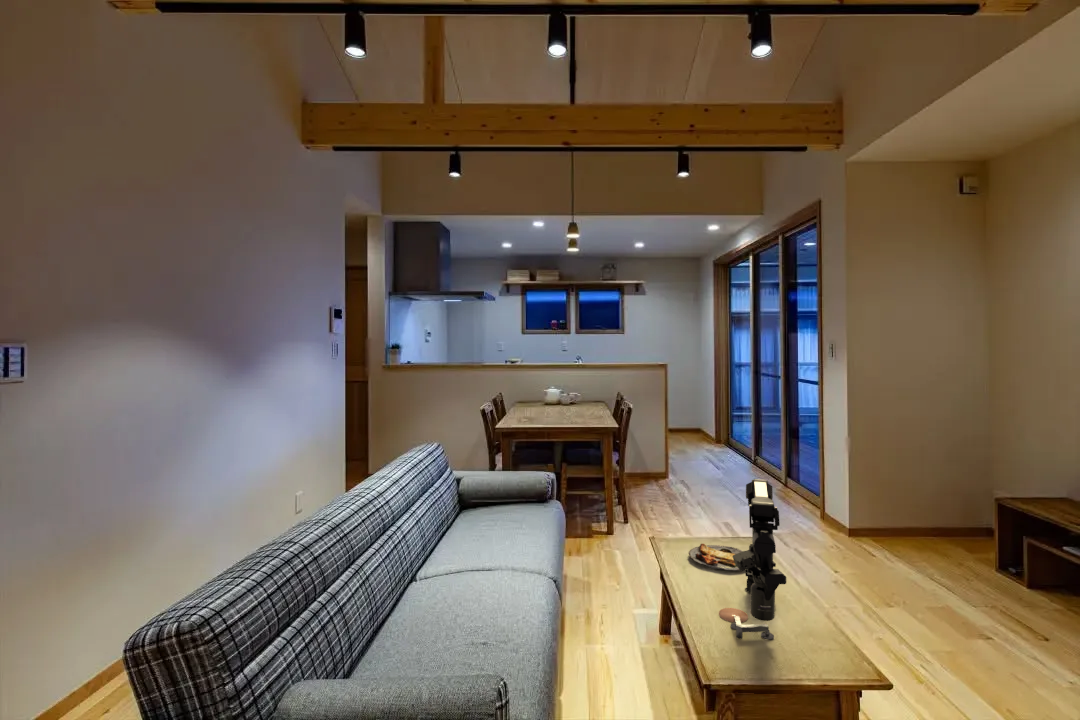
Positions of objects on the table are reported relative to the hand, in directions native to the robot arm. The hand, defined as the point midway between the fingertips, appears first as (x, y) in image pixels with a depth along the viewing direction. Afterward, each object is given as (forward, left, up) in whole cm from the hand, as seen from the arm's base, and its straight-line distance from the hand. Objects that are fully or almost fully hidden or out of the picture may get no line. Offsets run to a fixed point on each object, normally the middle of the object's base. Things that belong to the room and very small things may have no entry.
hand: (762, 594), depth 167 cm
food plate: (-21, -55, -14) cm, 60 cm away
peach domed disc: (+1, -14, -13) cm, 19 cm away
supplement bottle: (0, 0, -7) cm, 7 cm away
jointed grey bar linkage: (+2, -3, -13) cm, 14 cm away
